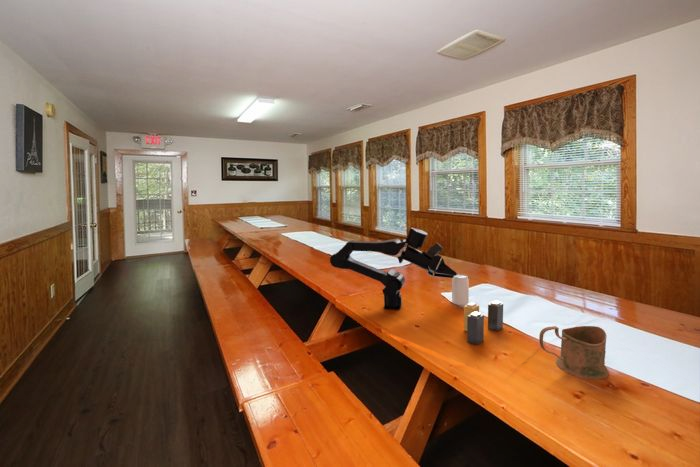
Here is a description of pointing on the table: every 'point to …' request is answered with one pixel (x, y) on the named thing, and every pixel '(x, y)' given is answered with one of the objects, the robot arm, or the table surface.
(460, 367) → the table surface
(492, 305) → the grey columns
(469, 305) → the tan faceted column
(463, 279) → the can
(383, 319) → the table surface
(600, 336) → the mug
